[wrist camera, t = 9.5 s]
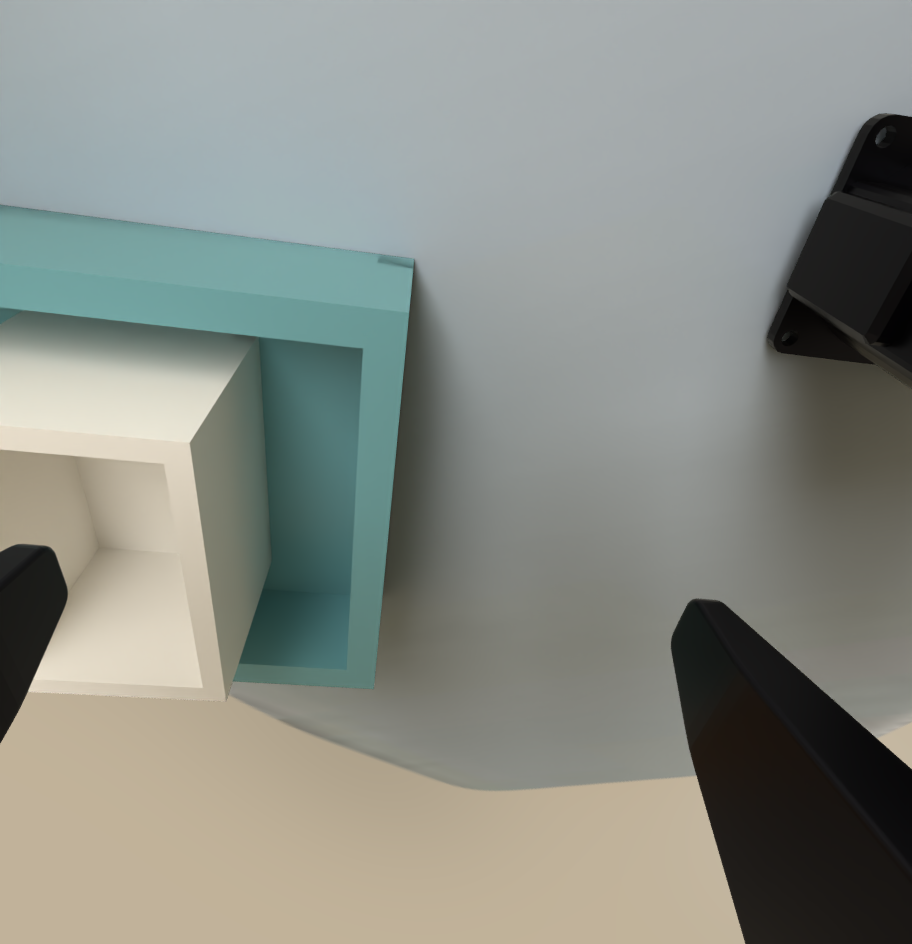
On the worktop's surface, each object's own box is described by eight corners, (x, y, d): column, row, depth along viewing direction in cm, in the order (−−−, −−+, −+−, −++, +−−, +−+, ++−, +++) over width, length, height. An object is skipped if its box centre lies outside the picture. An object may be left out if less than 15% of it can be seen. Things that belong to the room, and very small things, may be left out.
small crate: (258, 334, 17) (189, 442, 12) (271, 560, 22) (226, 701, 17) (26, 308, 17) (-145, 412, 12) (93, 547, 22) (-7, 690, 17)
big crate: (414, 258, 17) (409, 312, 14) (382, 596, 25) (373, 688, 21) (-152, 184, 16) (-332, 223, 12) (2, 569, 24) (-78, 663, 20)
